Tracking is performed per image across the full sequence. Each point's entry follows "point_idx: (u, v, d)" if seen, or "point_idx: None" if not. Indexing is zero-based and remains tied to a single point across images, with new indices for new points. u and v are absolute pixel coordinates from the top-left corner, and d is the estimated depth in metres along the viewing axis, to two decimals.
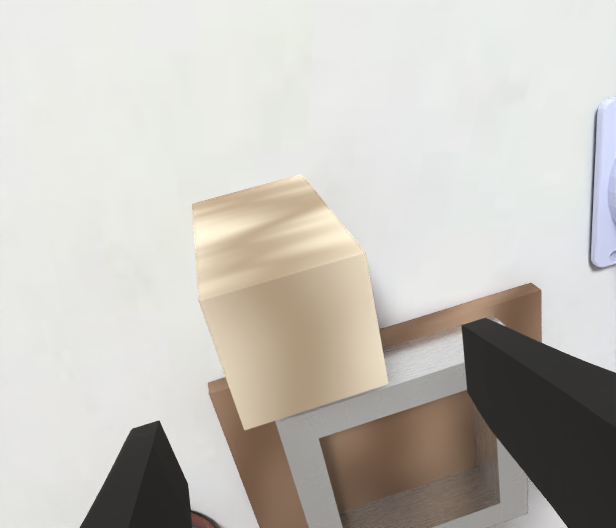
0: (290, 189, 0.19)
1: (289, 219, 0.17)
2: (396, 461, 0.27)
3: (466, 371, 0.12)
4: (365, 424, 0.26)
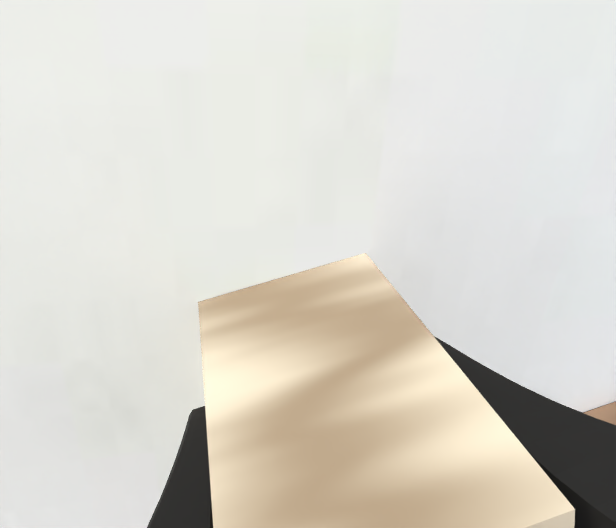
0: (355, 285, 0.12)
1: (372, 367, 0.09)
2: None
3: None
4: None
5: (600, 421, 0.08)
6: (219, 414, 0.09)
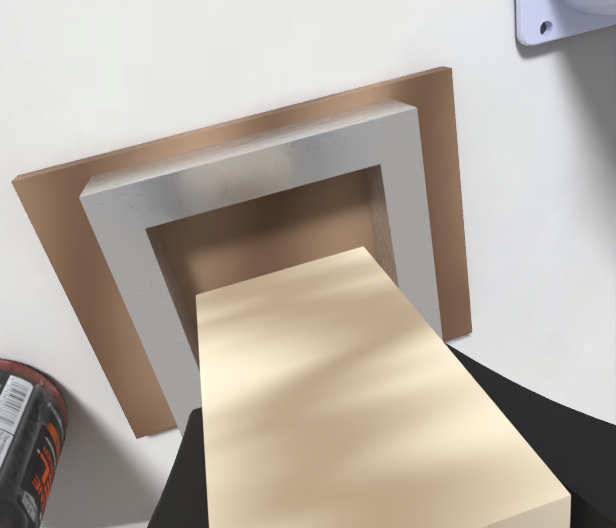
0: (352, 277, 0.12)
1: (369, 357, 0.09)
2: None
3: None
4: (234, 248, 0.20)
5: (600, 421, 0.08)
6: (215, 404, 0.09)
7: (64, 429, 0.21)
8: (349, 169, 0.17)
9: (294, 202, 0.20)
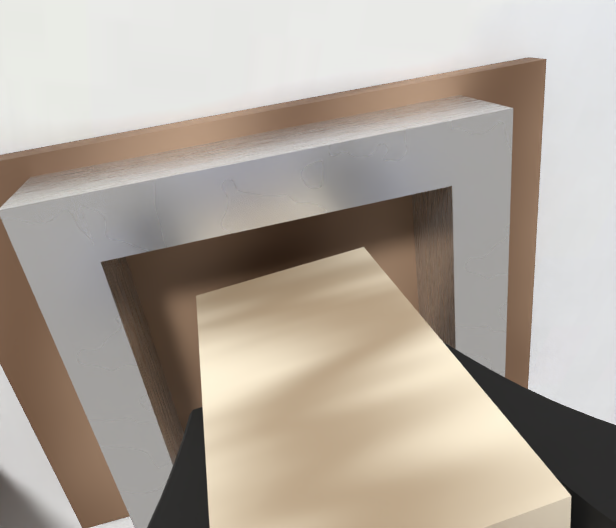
0: (353, 278, 0.12)
1: (369, 358, 0.09)
2: None
3: None
4: None
5: (600, 421, 0.08)
6: (216, 405, 0.09)
7: None
8: (408, 190, 0.12)
9: (317, 229, 0.15)
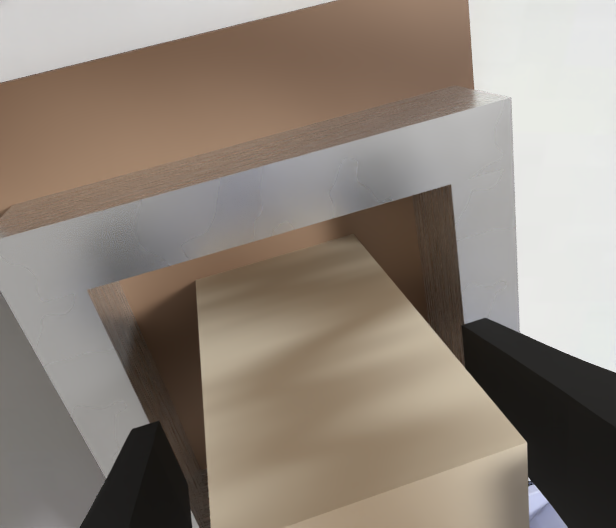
0: (342, 262, 0.13)
1: (355, 332, 0.10)
2: None
3: None
4: None
5: None
6: (214, 375, 0.10)
7: None
8: None
9: None
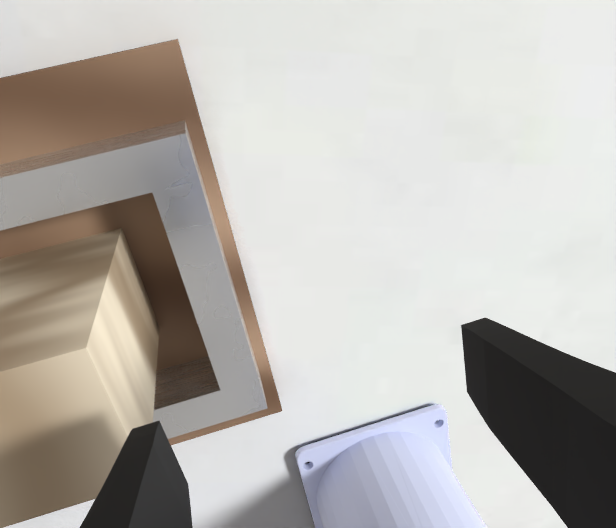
0: (95, 247, 0.18)
1: (60, 291, 0.15)
2: None
3: (466, 371, 0.12)
4: None
5: None
6: None
7: None
8: (215, 367, 0.19)
9: (162, 306, 0.21)
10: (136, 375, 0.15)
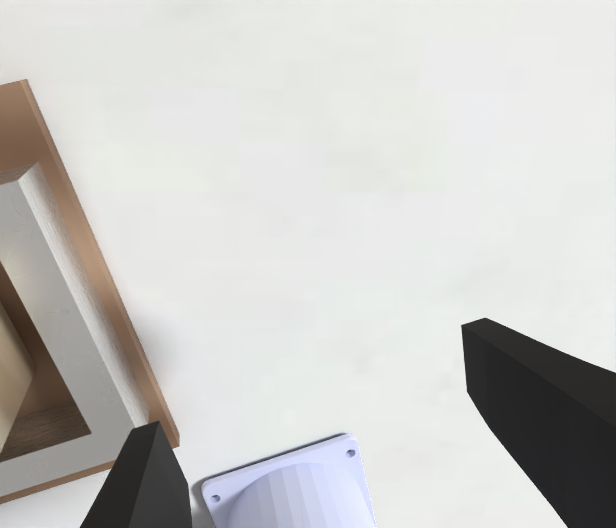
0: None
1: None
2: None
3: (466, 371, 0.12)
4: None
5: None
6: None
7: None
8: (83, 411, 0.19)
9: (37, 347, 0.20)
10: None
